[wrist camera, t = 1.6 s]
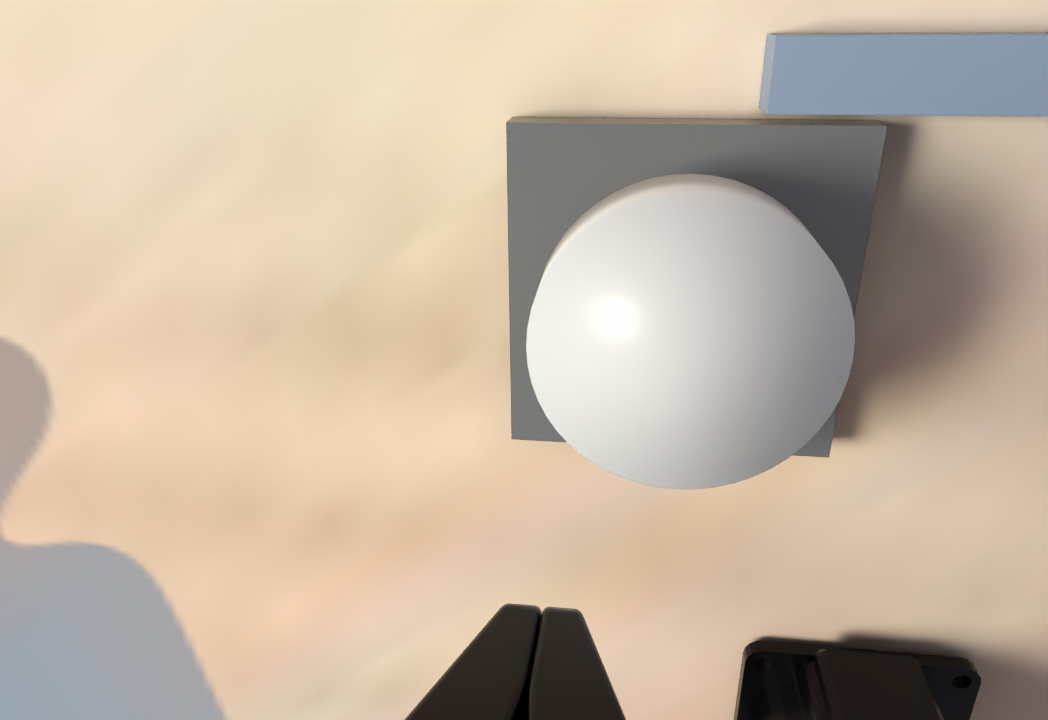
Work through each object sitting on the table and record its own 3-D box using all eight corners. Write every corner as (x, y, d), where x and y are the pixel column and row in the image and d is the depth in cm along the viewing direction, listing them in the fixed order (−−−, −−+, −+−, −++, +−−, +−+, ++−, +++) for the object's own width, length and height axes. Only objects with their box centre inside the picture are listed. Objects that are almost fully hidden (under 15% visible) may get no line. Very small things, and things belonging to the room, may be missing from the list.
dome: (806, 442, 19) (827, 499, 17) (538, 427, 19) (527, 479, 17) (849, 170, 16) (883, 196, 14) (538, 166, 17) (525, 189, 15)
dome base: (820, 439, 20) (828, 457, 20) (516, 422, 21) (511, 439, 21) (875, 120, 17) (887, 125, 16) (511, 117, 18) (506, 122, 17)
